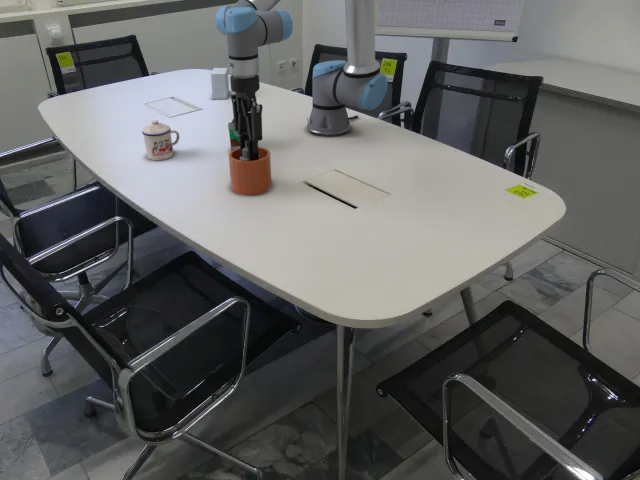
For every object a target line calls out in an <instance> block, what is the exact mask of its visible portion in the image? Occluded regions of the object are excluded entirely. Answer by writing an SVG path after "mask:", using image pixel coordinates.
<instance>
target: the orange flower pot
mask: <svg viewBox="0 0 640 480" xmlns="http://www.w3.org/2000/svg"><path fill="white" fill-rule="evenodd" d="M258 155H259V156H260V159H259V160H254V161H241V160H240V157H241V151H240V148H236V149H234V150H232V151H229V153H228V167H229V177H230V187H231V190H232V191H233V192H234V193H236V194H238V195H241V196H242V195H243V196H257V195H262V194H265V193H267V192H268V191H270V190H271V188H272V158H271V152H270V150H269V149H267V148H266V147H262V146H258Z"/></svg>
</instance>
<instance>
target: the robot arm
mask: <svg viewBox="0 0 640 480" xmlns="http://www.w3.org/2000/svg"><path fill="white" fill-rule="evenodd" d="M280 2H281V0H238V1H236V3H235V4H234V5H225V6H221V7H220V8H219V9H218V10H217V12H216V14H215V26H216V29H217V30H218V32H219V33H220V34H221V35H223V36H225V37H226V45H227V55H228V64H227V68H229V74H230V77H229V82H230V83H229V84H230V90H231V92H233V94H230V101H231V104H232V114H233V115H232V116H233V119H234V127H235V131H238V135H240V136H239V137H240V151H241V157H242V156H243V153H242V150H243V148H246V145H245V144H247V147H248V154H249V161H254V160H259V155H258V147H259V141H263V104H262V103H260V104H258V101H257V100H258V99H257V96H256V93H257V92H258V91H259V90H260V88H261V86H260V75H259V73H260V66H259V48H260V47H264V46H267V45H272V44H277V43H278V44H279V43H281V42H283V41H286V40H288V39H289V38H290V37H291V35H292V34H293V29H294V25H293V19H292V17H291V15H290V13H289V12H287V11H286V10H285V9H273V8H274V7H275V6H276V5H277V4H279V3H280ZM344 6H345V7H344V8H345V9H344V10H345V30H346V31H345V32H346V52H347V53H346V54H347V60H342V59H340V60H339V59H337V60H336V59H335V60H327V61H321V62H319V63H316V64H314V66H313V68H312V76H311V79H312V80H311V81H312V83H311V85H312V87H311V88H312V91H311V92H312V108H311V111H310V115H309V117H306V121H307V125H306V127H307V128H306V129H307V131H308V132H309V133H310V134H312V135H316V136H320V137H337V136H341V135H345V134H347V133H349V132H350V130H351V122H350V121H352V120H355V119H359V115H358V114H357V115H356V114H355V115H354V116H348V111H347V106H348V107H352V108H356V109H360V110H366V111H373V110H375V109H377V108H378V107H379V106H380V105H381V103H382V102H383V100H384V99H385V96H386V94H387V92H388V85H389V84H388V83H389V81H388V78H387V76H386V75H385V74H384V73H381V64H380V62H379V61H378V60H376V28H375V27H376V26H375V25H376V23H375V20H376V19H375V0H344ZM247 133H248V134H247ZM245 141H246V143H245Z"/></svg>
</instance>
